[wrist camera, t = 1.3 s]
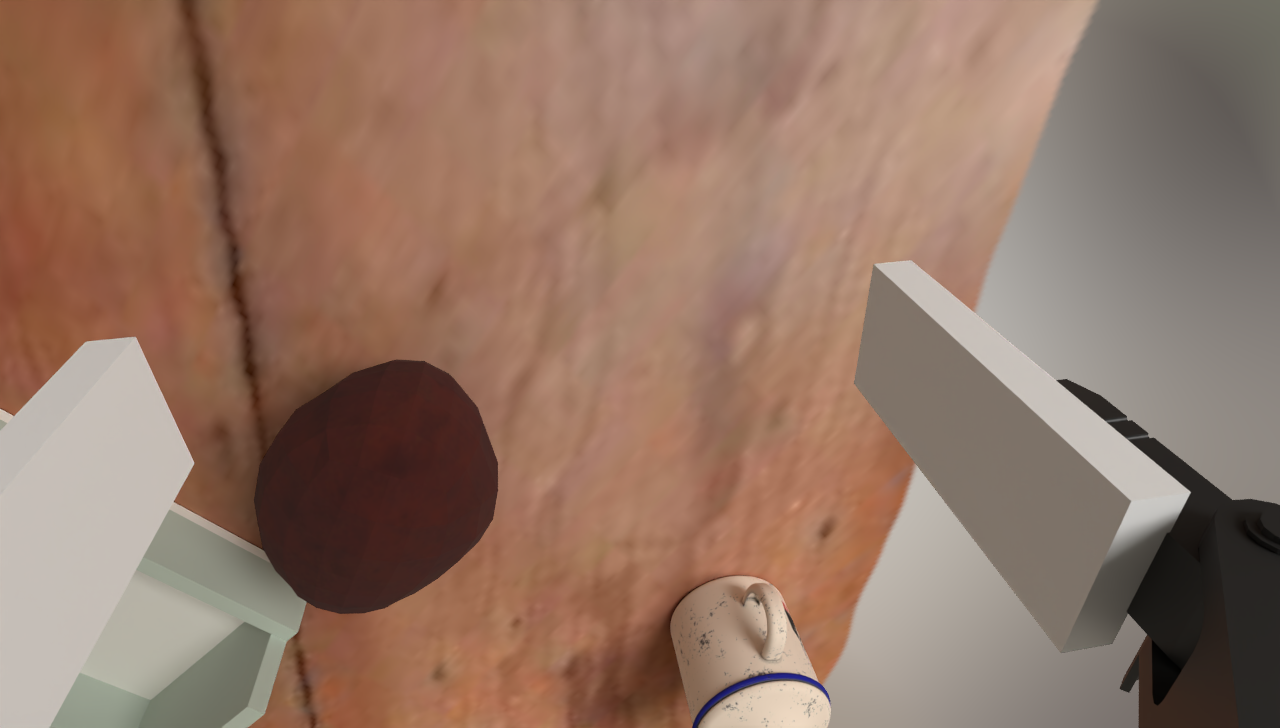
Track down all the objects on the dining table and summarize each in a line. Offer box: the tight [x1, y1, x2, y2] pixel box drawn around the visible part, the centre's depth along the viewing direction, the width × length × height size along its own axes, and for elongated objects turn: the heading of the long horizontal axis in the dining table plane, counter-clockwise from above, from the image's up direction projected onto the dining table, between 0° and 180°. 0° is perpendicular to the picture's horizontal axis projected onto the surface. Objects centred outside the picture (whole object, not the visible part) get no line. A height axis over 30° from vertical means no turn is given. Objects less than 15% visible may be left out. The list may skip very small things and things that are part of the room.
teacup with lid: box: [670, 575, 831, 728], centre depth 47 cm, size 12×9×12 cm
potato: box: [254, 360, 498, 614], centre depth 35 cm, size 11×13×10 cm
